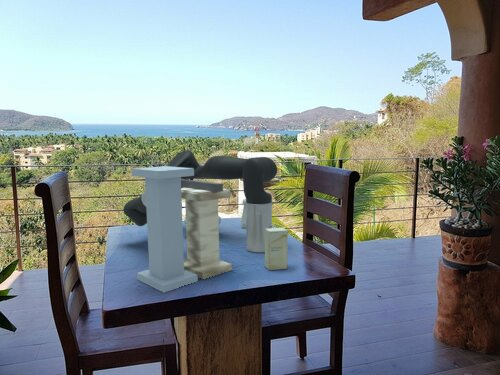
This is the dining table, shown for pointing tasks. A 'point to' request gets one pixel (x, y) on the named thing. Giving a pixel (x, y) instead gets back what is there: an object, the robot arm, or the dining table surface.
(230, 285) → the dining table surface
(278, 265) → the skincare box
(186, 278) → the tall stand
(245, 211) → the salt shaker
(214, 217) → the marble stand
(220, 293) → the dining table surface
